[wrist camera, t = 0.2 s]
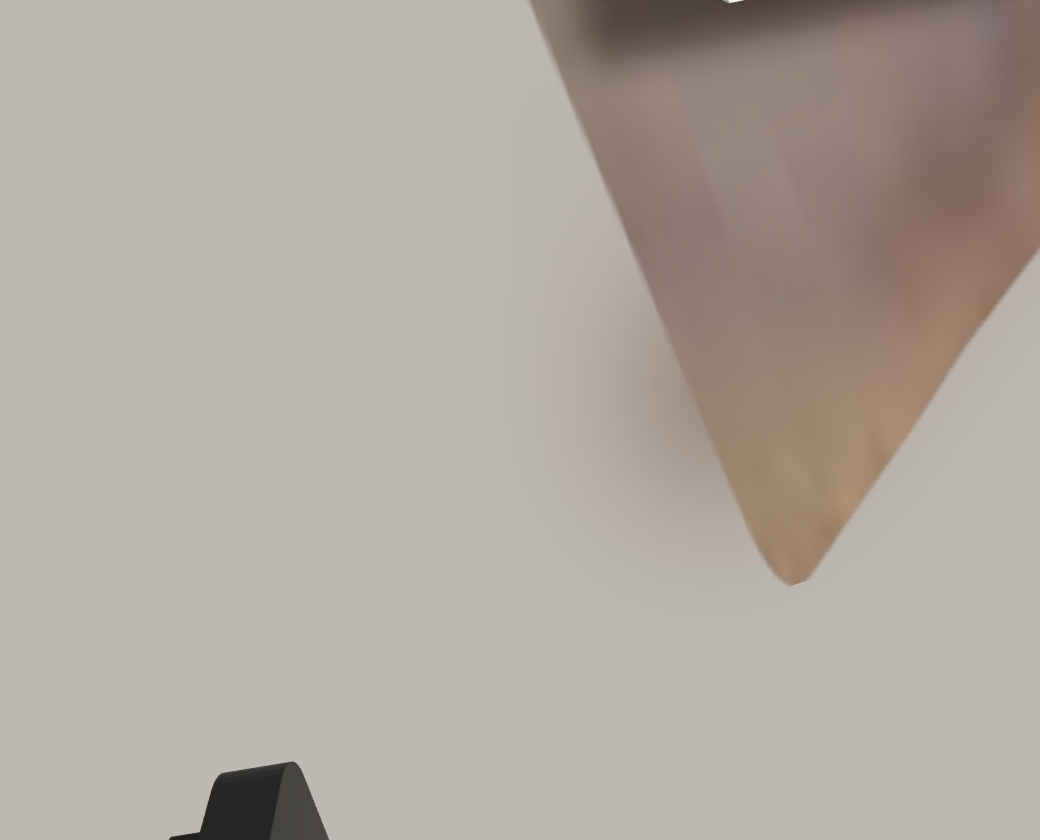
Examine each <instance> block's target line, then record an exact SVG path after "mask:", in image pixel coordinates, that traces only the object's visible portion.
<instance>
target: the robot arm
mask: <svg viewBox="0 0 1040 840" xmlns="http://www.w3.org/2000/svg"><path fill="white" fill-rule="evenodd" d="M169 840H329V838H328V836H327V833H326V831H325V828H324V826H323V824H322V821H321V818H320V816H319V813H318V811H317V808H316V806H315V803H314V800H313V798H312V796H311V793H310V790H309V788H308V785H307V783H306V780H305V778H304V775H303V773H302V771H301V769H300V767H299V766H298V765H297V764H296V763H295V762H287V763H281V764H275V765H269V766H263V767H257V768H251V769H244V770H238V771H232V772H227V773H222V774H220V775H219V776H218V777H217V779H216V781H215V782H214V784H213V787H212V790H211V794H210V797H209V801H208V805H207V808H206V812H205V816H204V819H203V823H202V827H201V831H200V832H199V833H193V834H186V835H180V836H174V837H171V838H170V839H169Z"/></svg>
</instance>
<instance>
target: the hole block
mask: <svg viewBox="0 0 1040 840" xmlns="http://www.w3.org/2000/svg"><path fill="white" fill-rule="evenodd" d="M723 1H725V2H727V3H732V2H737V1H742V0H723Z"/></svg>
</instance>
